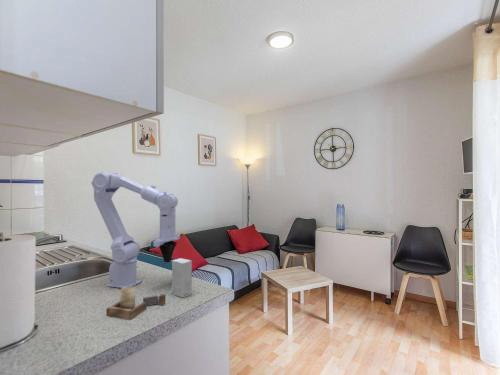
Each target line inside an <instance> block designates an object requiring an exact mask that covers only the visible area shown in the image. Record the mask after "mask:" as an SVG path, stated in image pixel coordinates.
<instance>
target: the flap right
mask: <svg viewBox="0 0 500 375" xmlns="http://www.w3.org/2000/svg"><path fill="white" fill-rule="evenodd" d="M159 295H160V294H158V295H152V296H144V297H142V303H143V302H146V307H147V306H151V305H159Z"/></svg>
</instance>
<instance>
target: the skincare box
mask: <svg viewBox="0 0 500 375" xmlns="http://www.w3.org/2000/svg"><path fill="white" fill-rule="evenodd" d="M192 267H193V262H192V260H190V259H186V258H182V257H181V258H175V259H173V260H172V259H171V294H172V295H173V296H177V297H180V298H186V297H188V296H190V295H192V294H193V292H192V289H193V288H192V286H193V285H192V284H193V283H192V281H193V280H192V278H193V276H192V275H193V271H192V270H193V268H192Z"/></svg>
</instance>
